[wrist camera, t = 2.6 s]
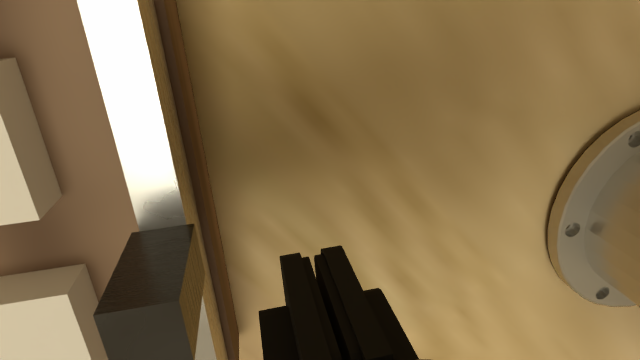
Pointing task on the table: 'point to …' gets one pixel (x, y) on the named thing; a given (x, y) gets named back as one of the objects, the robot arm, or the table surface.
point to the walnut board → (95, 151)
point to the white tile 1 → (22, 154)
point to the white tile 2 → (49, 316)
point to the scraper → (150, 199)
